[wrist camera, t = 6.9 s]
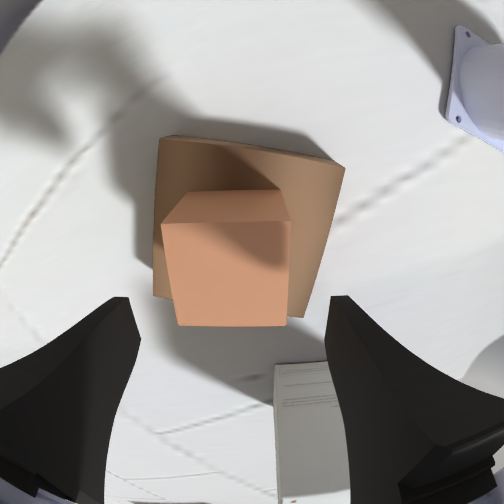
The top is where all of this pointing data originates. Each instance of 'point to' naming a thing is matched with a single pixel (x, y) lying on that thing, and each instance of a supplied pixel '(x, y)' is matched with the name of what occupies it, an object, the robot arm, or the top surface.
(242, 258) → the terracotta cube
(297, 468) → the supplement box
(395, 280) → the top surface
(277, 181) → the walnut slab
